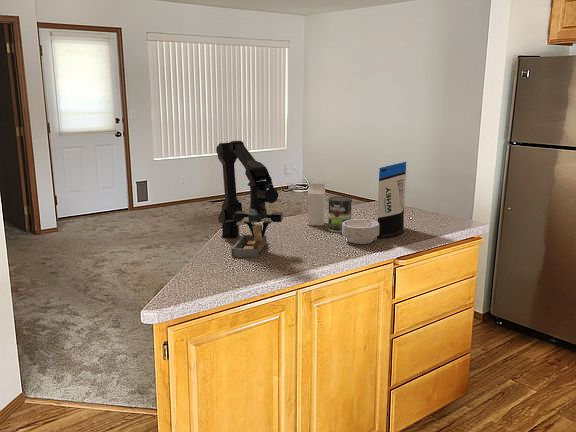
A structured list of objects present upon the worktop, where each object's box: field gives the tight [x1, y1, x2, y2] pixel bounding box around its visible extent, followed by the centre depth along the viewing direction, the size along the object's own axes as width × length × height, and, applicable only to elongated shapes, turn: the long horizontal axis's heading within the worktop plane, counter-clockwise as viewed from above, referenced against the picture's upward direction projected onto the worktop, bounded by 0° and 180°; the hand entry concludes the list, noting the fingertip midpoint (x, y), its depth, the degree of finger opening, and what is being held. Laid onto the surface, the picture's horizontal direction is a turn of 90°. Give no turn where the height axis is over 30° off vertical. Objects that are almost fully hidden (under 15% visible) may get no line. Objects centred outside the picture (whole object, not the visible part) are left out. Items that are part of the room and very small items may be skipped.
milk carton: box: [307, 182, 326, 227], centre depth 244 cm, size 7×7×19 cm
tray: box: [230, 234, 268, 258], centre depth 208 cm, size 10×20×3 cm, turn 173°
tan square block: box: [246, 240, 256, 246], centre depth 212 cm, size 4×4×2 cm
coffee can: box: [327, 195, 353, 233], centre depth 235 cm, size 10×10×14 cm
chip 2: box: [243, 245, 254, 249], centre depth 204 cm, size 4×4×2 cm
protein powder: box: [376, 161, 407, 240], centre depth 226 cm, size 10×24×30 cm, turn 142°
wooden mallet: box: [252, 223, 267, 255], centre depth 206 cm, size 3×14×10 cm, turn 173°
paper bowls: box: [341, 218, 379, 245], centre depth 217 cm, size 15×15×8 cm
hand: (258, 238), depth 206 cm, fingers closed on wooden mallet, 3 cm apart
